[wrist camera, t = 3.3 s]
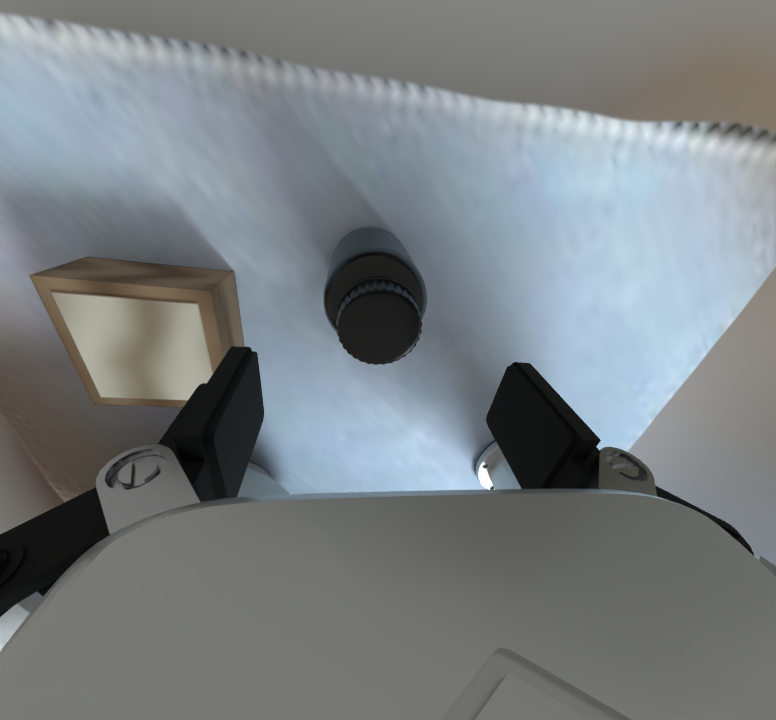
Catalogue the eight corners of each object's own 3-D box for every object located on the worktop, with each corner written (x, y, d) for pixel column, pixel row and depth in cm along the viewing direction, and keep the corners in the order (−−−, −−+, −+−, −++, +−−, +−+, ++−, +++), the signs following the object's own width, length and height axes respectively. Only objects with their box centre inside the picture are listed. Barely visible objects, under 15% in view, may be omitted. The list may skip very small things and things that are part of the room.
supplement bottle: (319, 238, 25) (296, 283, 14) (399, 217, 24) (433, 248, 14) (344, 312, 28) (339, 390, 18) (414, 294, 28) (448, 363, 18)
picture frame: (234, 271, 25) (209, 292, 21) (248, 376, 31) (231, 410, 27) (87, 257, 24) (26, 276, 19) (130, 371, 29) (91, 406, 25)
